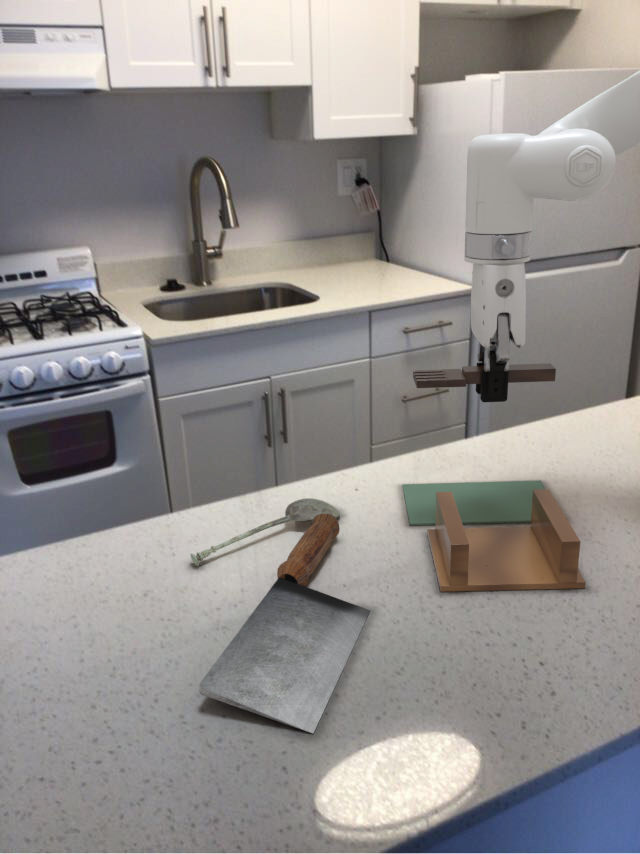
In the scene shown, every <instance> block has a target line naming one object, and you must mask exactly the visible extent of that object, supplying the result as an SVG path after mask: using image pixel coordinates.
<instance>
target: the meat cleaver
mask: <svg viewBox="0 0 640 854" xmlns="http://www.w3.org/2000/svg"><path fill="white" fill-rule="evenodd" d="M311 521H312V522H311V525H310V526H309V527H307V529H306V530H305V532H304V533H303V534H302V535H301V537H300V538H299V540H298V541H297V543H296V544H295V546H294V547H293V548H292V550H291V551H290V553H289V555H288V556H287V559H286V560H285V561H283V562H282V563H280V564H279V566H278V568H277V571H276V576H277V579H276V581H275V582H274V583H273V585H272V586H271V588H270V589H269V590H268V592H267V593H266V594H265V595H264V597H263V598H262V600H261V601H260V602H259V603H258V605H257V606H256V608H255V609H254V610H253V611H252V612H251V614H250V615H249V617H248V618H247V619H246V621H245V622H244V623H243V625H242V626H241V627H240V628H239V630H238V631H237V633H236V634H235V635H234V637H232V640H231V641H230V642H229V644H228V645H227V646H226V648H225V649H224V650H223V651H222V653H221V655H219V656H218V658H217V660H216V661H215V662H214V664H213V665H212V666H211V668H210V669H209V670H208V672H207V673H206V674H205V676H204V677H203V679H202V680H201V681H200V682H199V684H198V685H199V686H198V692H199V694H200V695H202V696H205V697H207V698H211V699H213V700H216V701H219V702H222V703H225V704H228V705H230V706H233V707H236V708H239V709H242V710H245V711H247V712H249V713H253V714H256V715H259V716H261V717H264V718H268V719H270V720H273V721H276V722H278V723H282V724H283V725H286V726H290V727H292V728H296V729H298V730H301V731H304V732H307V733H310V734H314V733H315V731H316V729H317V727H318V725H319V722H320V721H321V719H322V716H323V714H324V712H325V710H326V706H327V705H328V703H329V701H330V700H331V699H330V698H331V697H332V694H333V692H334V690H335V688H336V686H337V683H338V682H339V679H340V677H341V675H342V673H343V670H344V669H345V667H346V664H347V662H348V659H349V658H350V655H351V654H352V651H353V648H354V647H355V644H356V642H357V640H358V638H359V637H360V633H361V632H362V630H363V628H364V625H365V623H366V621H367V619H368V617H369V614H370V612H371V610H370V609H367V608H365V607H362V606H359V605H356V604H354V603H352V602H349V601H345V600H343V599H340V598H338V597H335V596H332V595H329V594H327V593H324V592H321V591H318V590H316V589H313V588H310V587H307V586H308V584H309V580H310V576H311V575H312V574H313V573H314V571H315V570H316V568H317V567H318V565H319V564H320V562H321V560H322V559H323V557H324V555H326V553H327V551H328V550H329V548H330V546H331V545H332V541H333V539H335V538H336V537H338V535H339V533H340V528H341V527H340V524H339V521H338V519H337V518H336V517H334V516H333V515H331V514H319V515H317V516H316V517H314V519H313V520H311Z"/></svg>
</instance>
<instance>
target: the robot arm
mask: <svg viewBox="0 0 640 854" xmlns="http://www.w3.org/2000/svg"><path fill="white" fill-rule="evenodd" d="M639 146H640V69H639V70H637V71H636V72H635V73H633V74H631V76H628V77H627V78H625V79H623V80H621V81H620V82H619V83H616V84H615V85H613V86H612V87H610V88H607V89H606V90H605V91H603V92H601V93H600V94H598V95H596V96H595V97H593V98H591V99H589V100H588V101H586V102H584V103H583V104H582V105H580V106H579V107H577V108H576V109H574V110H572V111H571V112H569V113H567V115H565V116H563V117H562V118H560V119H558V120H557V121H555V122H554V123H552V124H551V125H549V126H548V127H547V128H544V129H543V130H542V131H541V132H539V133H538V134H537V135H530V134H528V133H522V132H517V133H516V132H511V133H490V134H481V135H478V136H475V137H474V138H472V139H471V141H470V143H469V145H468V148H467V157H466V159H467V161H466V195H465V196H466V197H465V198H466V199H465V232H464V236H465V237H464V261H465V262H467V263H470V264H472V271H471V277H472V278H471V288H470V289H471V290H470V292H471V293H470V295H471V296H470V328H471V332H472V334H473V335H474V337H475V339H476V340H477V355H476V358H477V362H476V366H484V370H481V384H475V392H476V394H477V395H480V396H479V397H480V401H481V402H482V403H505V402H507V401H508V395H509V394H508V393H509V383H508V376H509V365H510V359H511V354H510V353H511V352H510V351H511V349H510V348H511V342H512V343H513V344H514V346H515V347H517V348H518V349H522V348H523V347H524V346H525V344H526V332H527V331H526V326H527V325H526V322H527V321H526V320H527V319H526V318H527V315H526V314H527V282H526V281H527V280H526V279H527V278H526V267H525V263H527V262H530V261H531V257H532V256H531V255H532V241H533V240H532V239H533V238H532V237H533V222H534V221H533V219H534V207H535V206H534V205H535V204H534V203H535V199H545V200H555V201H564V202H577V201H578V202H579V201H584V200H588V199H590V198H592V197H594V196H596V195H597V194H599V193H600V192H601V191H603V190H604V189H605V188H606V187H607V186H608V184H609V183H610V182H611V180H612V179H613V176H614V173H615V170H616V165H617V163H616V161H617V158H618V156H620V155H622V154H625V153H626V152H628V151H630V150H632V149H634V148H637V147H639Z"/></svg>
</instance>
